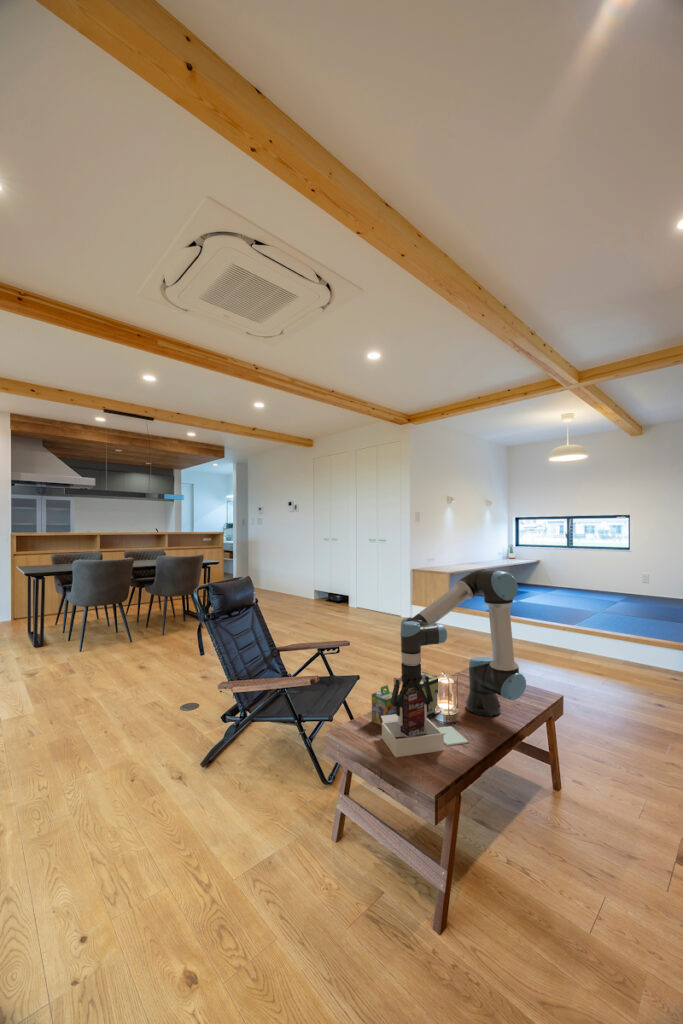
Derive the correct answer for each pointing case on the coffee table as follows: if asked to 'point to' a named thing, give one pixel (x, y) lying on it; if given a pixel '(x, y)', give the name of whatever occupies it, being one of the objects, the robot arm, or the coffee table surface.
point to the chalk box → (382, 705)
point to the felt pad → (452, 736)
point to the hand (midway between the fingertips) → (412, 722)
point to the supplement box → (412, 713)
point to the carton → (411, 738)
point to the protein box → (434, 691)
